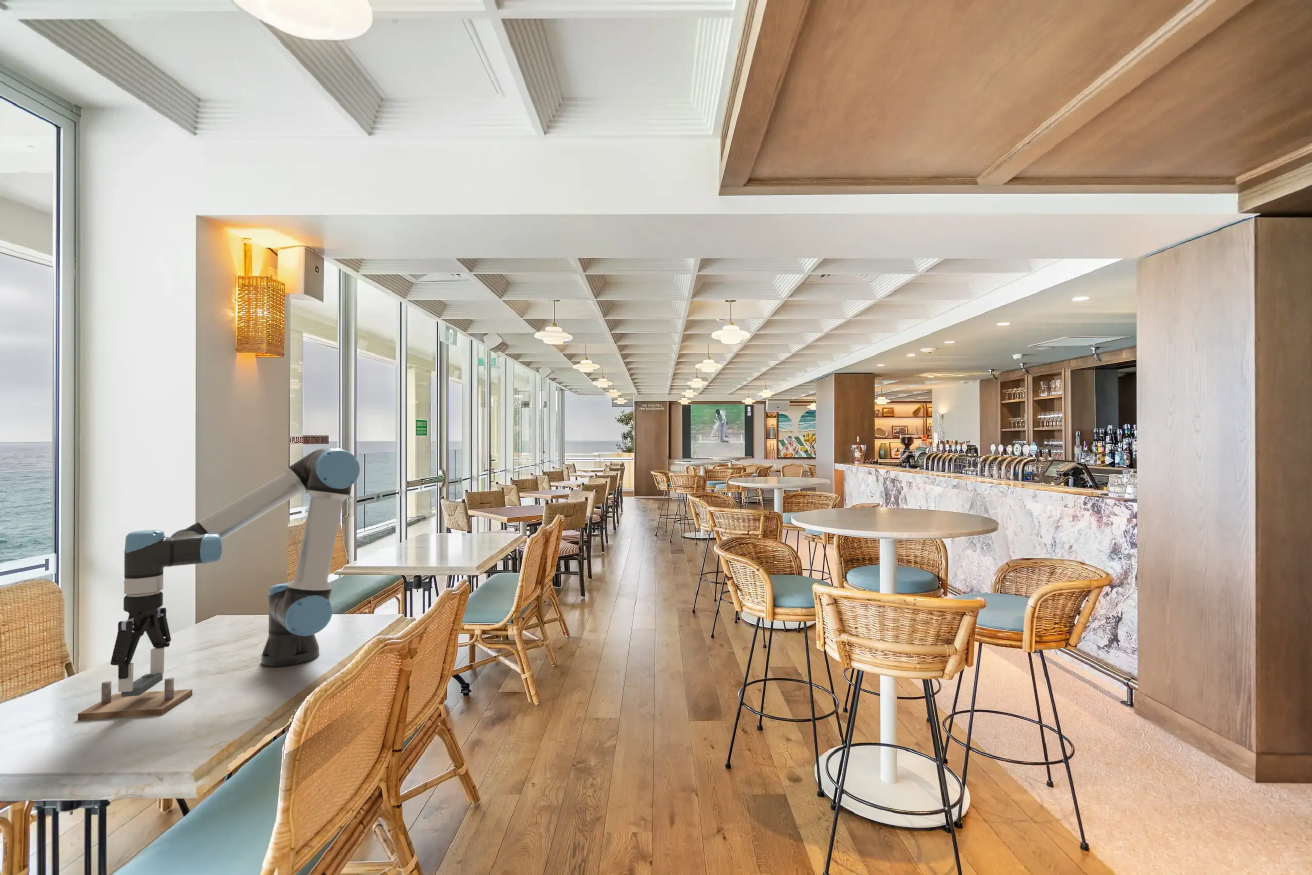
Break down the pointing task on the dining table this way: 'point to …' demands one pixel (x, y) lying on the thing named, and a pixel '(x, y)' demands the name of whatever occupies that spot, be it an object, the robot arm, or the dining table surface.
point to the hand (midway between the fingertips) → (141, 682)
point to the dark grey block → (143, 684)
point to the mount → (135, 703)
